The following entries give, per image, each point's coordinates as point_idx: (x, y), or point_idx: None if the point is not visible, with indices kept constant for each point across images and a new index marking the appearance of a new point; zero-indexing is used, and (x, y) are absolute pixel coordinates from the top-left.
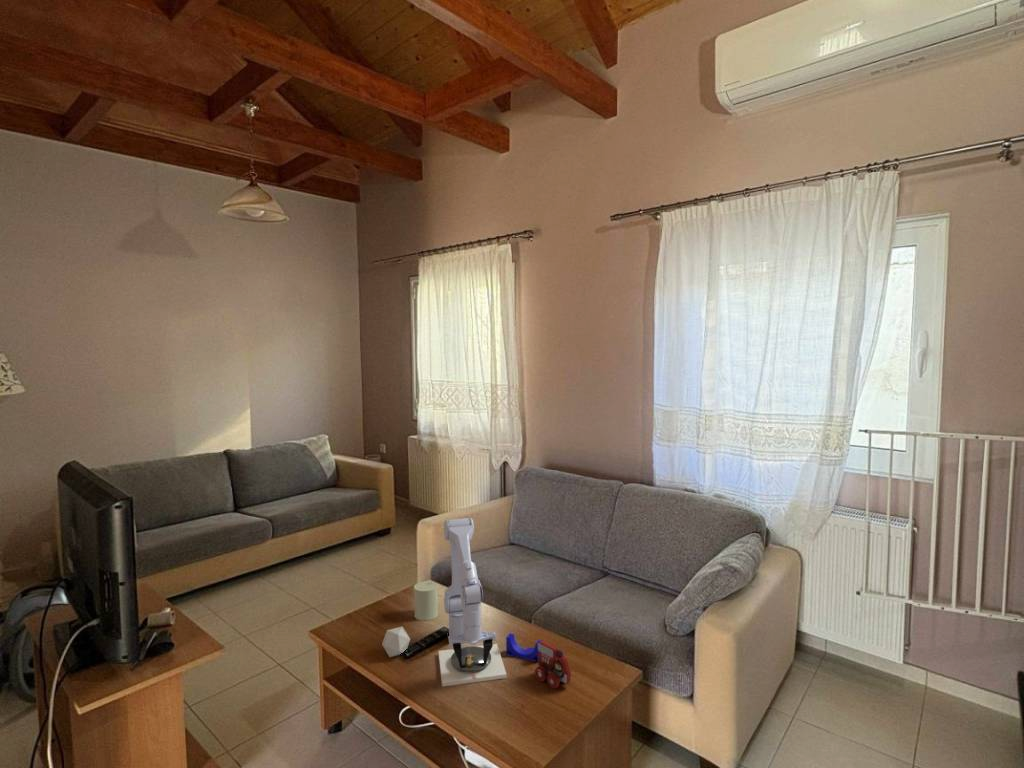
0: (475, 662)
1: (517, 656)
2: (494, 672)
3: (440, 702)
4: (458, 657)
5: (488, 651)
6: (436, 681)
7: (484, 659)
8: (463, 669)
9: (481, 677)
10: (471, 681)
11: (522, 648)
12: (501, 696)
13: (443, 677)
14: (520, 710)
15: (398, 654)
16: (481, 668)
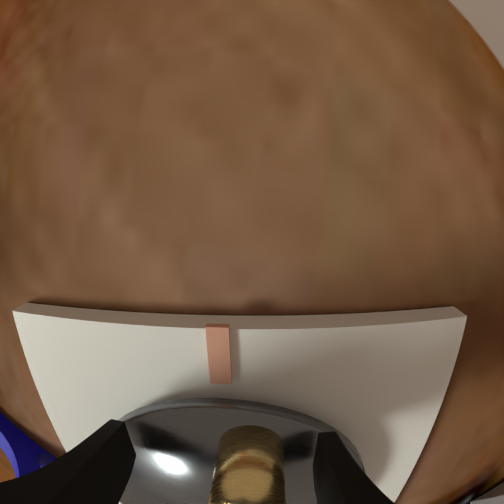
0: (198, 464)
1: (19, 432)
2: (75, 355)
3: (479, 140)
4: (381, 501)
5: (27, 482)
6: (462, 360)
7: (104, 450)
8: (304, 422)
9: (161, 328)
10: (248, 320)
11: (4, 452)
12: (61, 115)
13: (441, 372)
14: (23, 12)
15: (495, 490)
16: (153, 406)
